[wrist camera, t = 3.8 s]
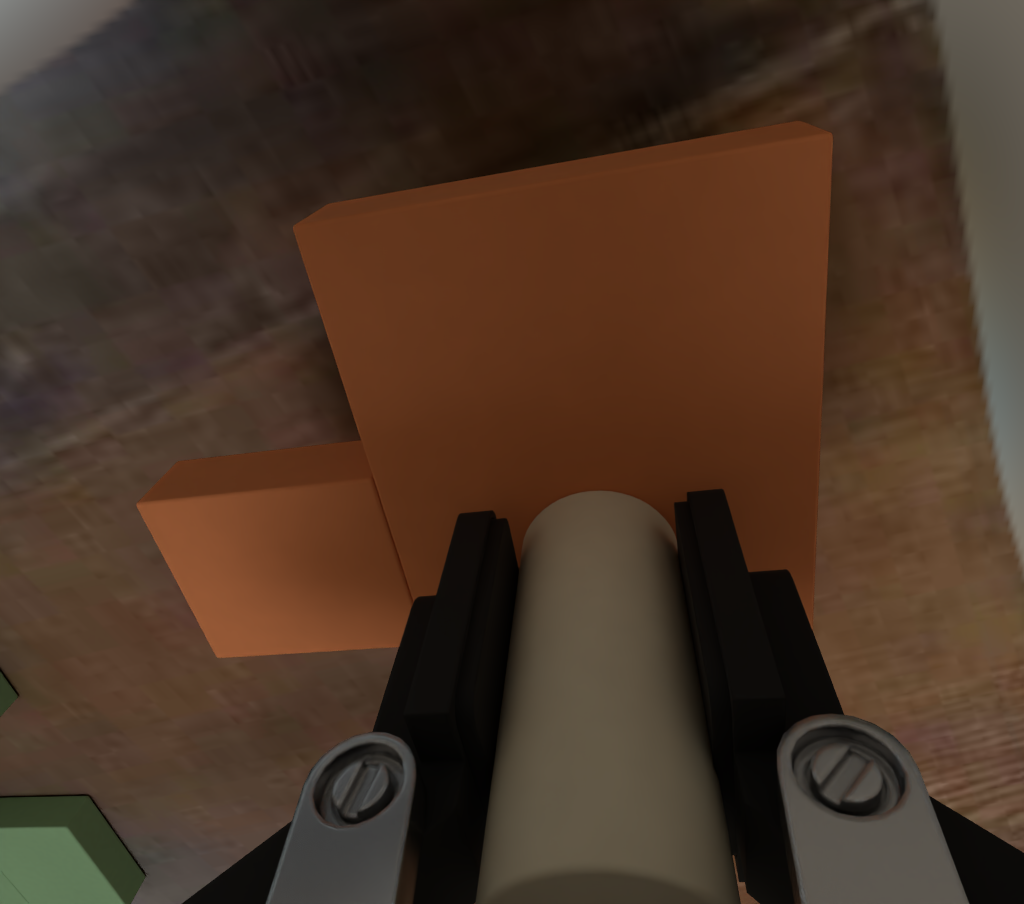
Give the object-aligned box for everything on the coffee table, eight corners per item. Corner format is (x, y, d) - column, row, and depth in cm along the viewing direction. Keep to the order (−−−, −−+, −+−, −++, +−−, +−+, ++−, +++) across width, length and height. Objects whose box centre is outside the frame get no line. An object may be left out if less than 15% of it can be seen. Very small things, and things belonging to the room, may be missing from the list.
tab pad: (75, 248, 12) (-568, 509, 5) (801, 119, 10) (1228, 279, 3) (306, 732, 17) (141, 1139, 11) (789, 712, 15) (932, 1193, 9)
